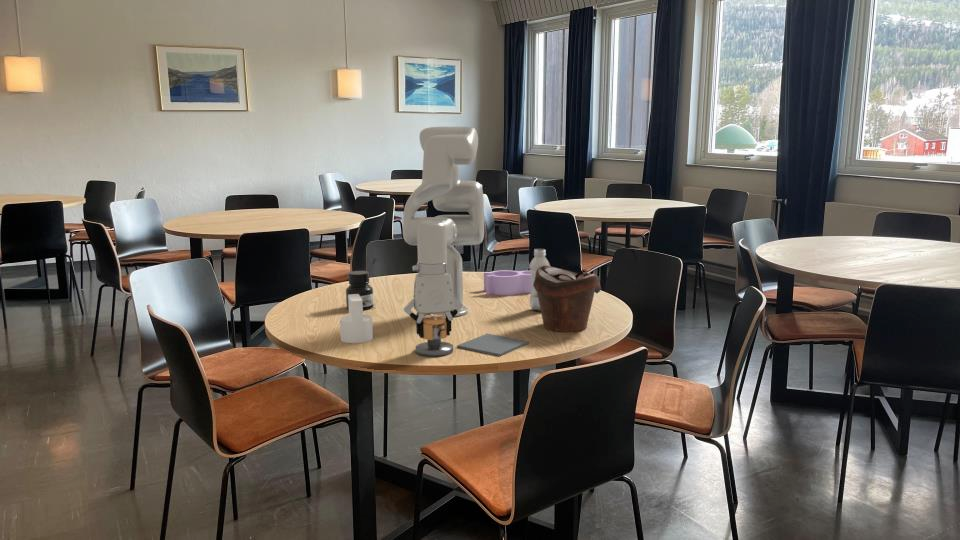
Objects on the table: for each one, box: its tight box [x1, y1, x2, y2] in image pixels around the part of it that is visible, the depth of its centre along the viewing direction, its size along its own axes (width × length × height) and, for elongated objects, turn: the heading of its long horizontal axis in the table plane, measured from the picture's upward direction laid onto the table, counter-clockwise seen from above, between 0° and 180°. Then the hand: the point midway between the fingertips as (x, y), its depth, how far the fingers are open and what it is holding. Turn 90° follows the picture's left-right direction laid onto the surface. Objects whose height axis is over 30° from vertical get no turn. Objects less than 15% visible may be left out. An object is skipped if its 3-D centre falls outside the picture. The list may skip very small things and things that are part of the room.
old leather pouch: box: [533, 265, 602, 333], centre depth 209 cm, size 18×20×18 cm
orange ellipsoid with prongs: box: [422, 313, 448, 341], centre depth 187 cm, size 6×6×6 cm
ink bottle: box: [345, 270, 374, 311], centre depth 236 cm, size 10×9×12 cm
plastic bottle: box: [529, 248, 551, 312], centre depth 229 cm, size 6×7×20 cm
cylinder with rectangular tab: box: [339, 294, 374, 344], centre depth 199 cm, size 9×9×12 cm
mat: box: [456, 333, 530, 357], centre depth 192 cm, size 14×14×1 cm
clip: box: [483, 269, 532, 296], centre depth 259 cm, size 20×12×7 cm, turn 97°
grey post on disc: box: [415, 324, 454, 358], centre depth 187 cm, size 10×10×8 cm
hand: (434, 334), depth 187 cm, fingers closed on orange ellipsoid with prongs, 6 cm apart
